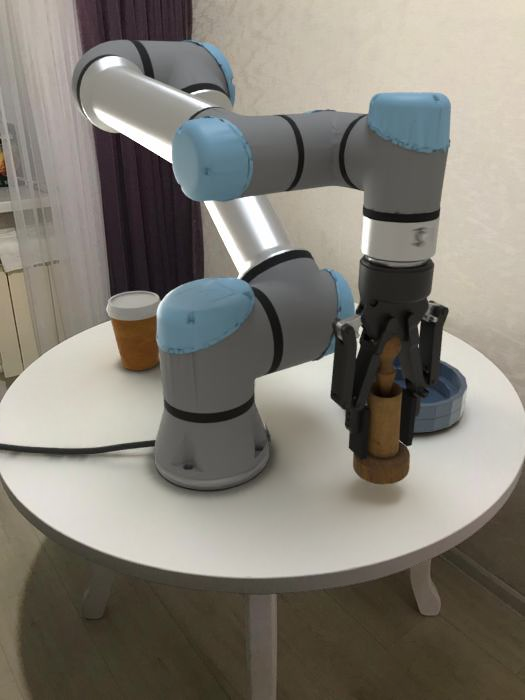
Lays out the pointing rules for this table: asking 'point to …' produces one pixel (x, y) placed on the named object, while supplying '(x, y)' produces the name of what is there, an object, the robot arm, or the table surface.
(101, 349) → the table surface
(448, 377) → the bowl
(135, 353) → the disposable coffee cup
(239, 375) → the robot arm
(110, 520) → the table surface
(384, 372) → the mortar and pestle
